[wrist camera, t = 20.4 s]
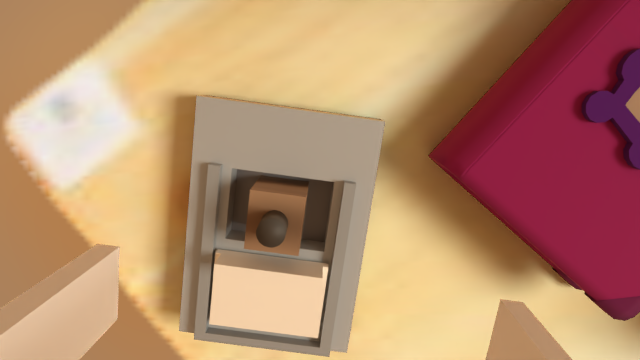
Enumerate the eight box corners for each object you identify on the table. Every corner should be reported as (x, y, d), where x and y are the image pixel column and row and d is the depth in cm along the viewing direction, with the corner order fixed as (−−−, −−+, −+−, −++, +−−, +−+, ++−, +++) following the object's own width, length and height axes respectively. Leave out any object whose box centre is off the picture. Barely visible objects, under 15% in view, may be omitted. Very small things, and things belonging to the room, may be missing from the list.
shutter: (217, 249, 38) (208, 263, 35) (328, 263, 38) (328, 279, 35) (211, 319, 39) (201, 339, 36) (318, 333, 40) (317, 354, 36)
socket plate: (206, 95, 38) (192, 95, 35) (380, 119, 39) (386, 122, 35) (189, 314, 43) (175, 337, 39) (345, 334, 43) (347, 359, 39)
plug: (261, 175, 39) (244, 197, 31) (309, 181, 39) (304, 205, 31) (255, 226, 40) (237, 260, 32) (302, 232, 40) (296, 268, 32)
